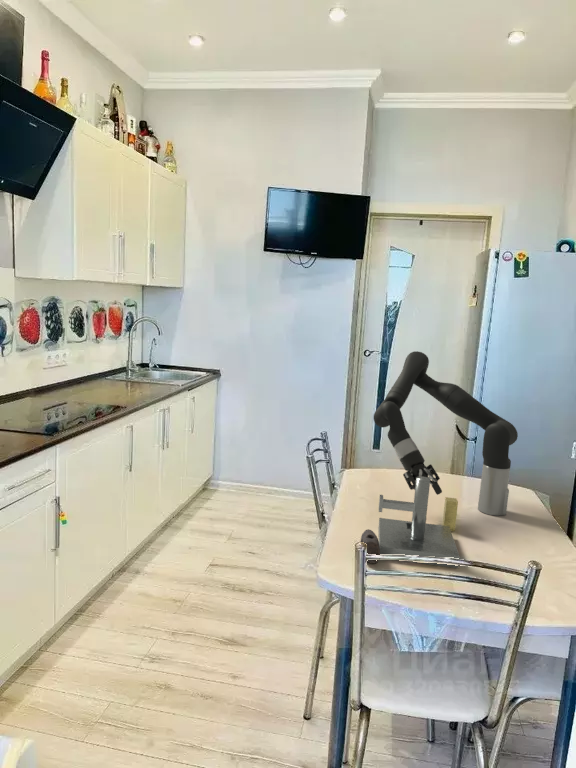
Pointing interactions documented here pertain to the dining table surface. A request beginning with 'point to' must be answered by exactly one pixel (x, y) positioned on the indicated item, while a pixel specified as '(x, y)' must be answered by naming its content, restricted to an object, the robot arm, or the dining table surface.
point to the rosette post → (415, 529)
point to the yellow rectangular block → (450, 513)
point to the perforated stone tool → (371, 543)
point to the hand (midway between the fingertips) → (432, 496)
